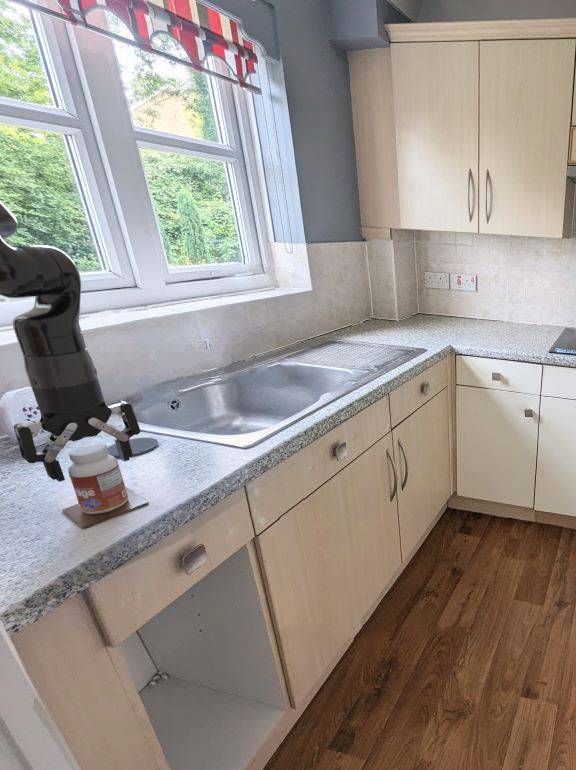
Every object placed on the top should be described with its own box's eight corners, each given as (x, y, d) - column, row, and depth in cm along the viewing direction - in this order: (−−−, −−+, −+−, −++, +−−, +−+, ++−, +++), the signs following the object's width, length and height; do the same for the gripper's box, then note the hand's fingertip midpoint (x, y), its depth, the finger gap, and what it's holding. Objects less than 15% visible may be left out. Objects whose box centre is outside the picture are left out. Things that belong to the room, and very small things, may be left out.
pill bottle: (72, 511, 78) (52, 453, 74) (113, 493, 83) (96, 438, 79) (97, 518, 76) (78, 460, 72) (137, 500, 81) (121, 444, 78)
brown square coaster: (82, 529, 74) (82, 527, 74) (62, 511, 78) (61, 509, 78) (149, 504, 81) (148, 502, 81) (127, 488, 85) (126, 486, 85)
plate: (115, 462, 94) (114, 459, 94) (98, 450, 99) (97, 448, 98) (166, 446, 102) (165, 444, 101) (147, 436, 106) (147, 434, 106)
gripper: (111, 365, 79) (135, 448, 84) (-10, 385, 67) (27, 480, 73) (130, 373, 75) (154, 459, 81) (6, 395, 64) (43, 494, 69)
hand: (93, 469), depth 77 cm, fingers open, 8 cm apart
